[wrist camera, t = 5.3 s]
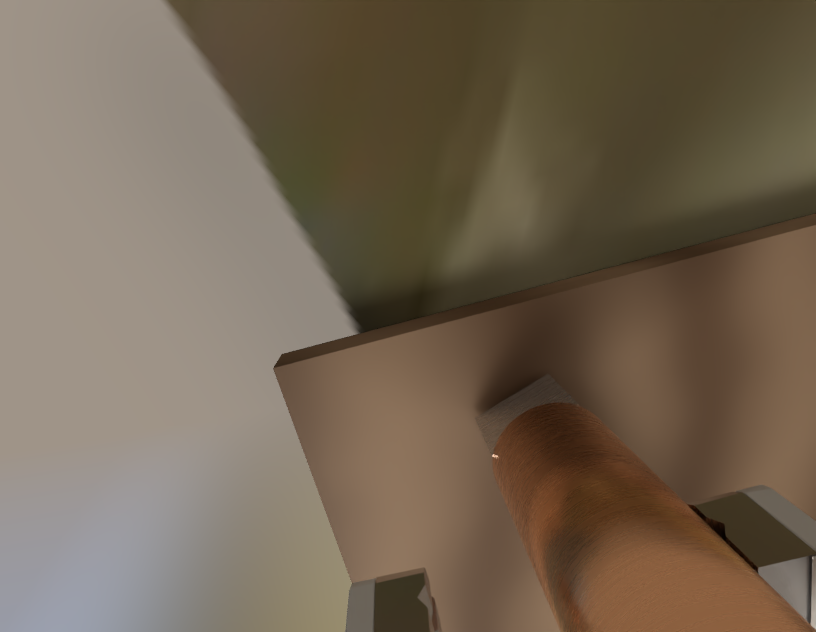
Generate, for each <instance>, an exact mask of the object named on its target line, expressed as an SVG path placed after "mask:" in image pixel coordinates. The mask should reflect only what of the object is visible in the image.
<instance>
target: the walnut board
mask: <svg viewBox="0 0 816 632" xmlns="http://www.w3.org/2000/svg"><path fill="white" fill-rule="evenodd" d="M273 369H274V372H275V374H276V377H277V380H278V383H279V385H280V388H281V391H282V394H283V397H284V399H285V402H286V405H287V407H288V410H289V413H290V416H291V418H292V421H293V424H294V426H295V429H296V432H297V434H298V437H299V440H300V443H301V446H302V448H303V451H304V453H305V456H306V459H307V462H308V465H309V467H310V470H311V473H312V476H313V478H314V481H315V483H316V486H317V489H318V492H319V495H320V497H321V500H322V503H323V505H324V508H325V511H326V514H327V516H328V519H329V522H330V525H331V527H332V530H333V533H334V535H335V538H336V541H337V544H338V546H339V549H340V552H341V555H342V557H343V560H344V563H345V565H346V568H347V571H348V574H349V576H350V579H351V582H352V583H354V582H359V581H364V580H368V579H373V578H377V577H380V576H385V575H389V574H394V573H399V572H404V571H408V570H413V569H418V568H422V567H424V568H425V569H426V572H427V575H428V578H429V581H430V589H431V596H432V597H433V598H434V599H435V602H436V606H437V610H438V614H439V618H440V623H441V628H442V632H561V631H560V629H559V627H558V624H557V622H556V620H555V617H554V615H553V613H552V610H551V608H550V606H549V603H548V601H547V599H546V596H545V594H544V592H543V589H542V587H541V585H540V582H539V580H538V578H537V575H536V573H535V571H534V568H533V566H532V564H531V561H530V559H529V557H528V554H527V552H526V550H525V547H524V545H523V543H522V540H521V538H520V536H519V533H518V531H517V529H516V526H515V524H514V522H513V519H512V517H511V515H510V512H509V510H508V508H507V505H506V503H505V501H504V498H503V496H502V494H501V491H500V489H499V487H498V484H497V482H496V479H495V477H494V473H493V466H492V460H493V457H492V455H491V453H490V451H489V449H488V447H487V444H486V442H485V440H484V438H483V436H482V433H481V431H480V429H479V427H478V425H477V422H476V420H475V417H477V416H478V415H480V414H482V413H483V412H485V411H487V410H488V409H490V408H492V407H493V406H495V405H497V404H498V403H500V402H502V401H503V400H505V399H507V398H508V397H510V396H512V395H513V394H515V393H517V392H518V391H520V390H522V389H523V388H525V387H527V386H528V385H530V384H532V383H533V382H535V381H537V380H538V379H540V378H542V377H543V376H545V375H547V374H549V375H550V376H551V377H552V378H553V379H554V380H555V381H556V382H557V383H558V384H559V385H560V386H561V387H562V388H563V389H564V390H565V391H566V392H567V393H568V394H569V395H570V396H571V397H572V398H573V399H574V400H575V401H576V402H577V403H578V404H579V406H581V407H583V408H585V409H587V410H589V411H591V412H592V413H593V414H594V415H596V416H597V417H598V418H599V419H600V420H601V421H602V422H603V423H604V424H605V425H606V426H607V427H608V428H609V429H610V430H611V431H612V432H613V433H614V434H615V435H616V436H617V437H618V438H619V439H620V440H621V441H623V442H624V443H625V444H626V445H627V446H628V447H629V448H630V449H631V450H632V451H633V452H634V453H635V454H636V455H637V456H638V457H639V458H640V459H641V460H642V461H643V462H644V463H645V464H646V465H647V466H648V467H649V468H650V469H651V470H652V471H653V472H654V473H655V474H656V475H657V476H658V477H659V478H661V479H662V480H663V481H664V482H665V483H666V484H667V485H668V486H669V487H670V488H671V489H672V490H673V491H674V492H675V493H676V494H677V495H678V496H679V497H680V498H681V499H682V500H683V501H684V502H685V503H690V502H694V501H698V500H702V499H706V498H710V497H713V496H717V495H721V494H725V493H729V492H735V491H737V490H741V489H745V488H749V487H753V486H757V485H761V484H762V485H765V486H768V487H770V488H772V489H773V490H774V491H776V492H777V493H778V494H780V495H781V496H782V497H784V498H785V499H787V500H788V501H789V502H791V503H792V504H793V505H795V506H796V507H797V508H799V509H800V510H801V511H803V512H804V513H806V514H807V515H808V516H810V517H811V518H812V519H814V520H815V521H816V213H815V214H811V215H807V216H804V217H800V218H796V219H792V220H788V221H785V222H781V223H777V224H773V225H769V226H766V227H762V228H758V229H754V230H751V231H747V232H743V233H739V234H735V235H732V236H728V237H724V238H720V239H716V240H713V241H709V242H705V243H701V244H698V245H694V246H690V247H686V248H682V249H679V250H675V251H671V252H667V253H663V254H660V255H656V256H652V257H648V258H644V259H641V260H637V261H633V262H629V263H626V264H622V265H618V266H614V267H610V268H607V269H603V270H599V271H595V272H591V273H588V274H584V275H580V276H576V277H573V278H569V279H565V280H561V281H557V282H554V283H550V284H546V285H542V286H538V287H535V288H531V289H527V290H523V291H519V292H516V293H512V294H508V295H504V296H501V297H497V298H493V299H489V300H485V301H482V302H478V303H474V304H470V305H466V306H463V307H459V308H455V309H451V310H447V311H444V312H440V313H436V314H432V315H429V316H425V317H421V318H417V319H413V320H410V321H406V322H402V323H398V324H394V325H391V326H387V327H383V328H379V329H376V330H372V331H368V332H364V333H360V334H357V335H353V336H349V337H345V338H342V339H338V340H334V341H330V342H326V343H322V344H319V345H315V346H312V347H307V348H304V349H300V350H296V351H292V352H289V353H285V354H282V355H281V357H280V358H279V360H278V361H277V363H276V365H275V366H274V368H273Z"/></svg>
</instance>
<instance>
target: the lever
mask: <svg viewBox="0 0 816 632" xmlns="http://www.w3.org/2000/svg"><path fill="white" fill-rule="evenodd" d="M475 420H476V422H477V425H478V427H479V429H480V431H481V433H482V436H483V438H484V440H485V442H486V444H487V447H488V449H489V451H490V453H491V455H492V457H493V460H492V466H493V473H494V477H495V479H496V482H497V484H498V487H499V489H500V491H501V494H502V496H503V498H504V501H505V503H506V505H507V508H508V510H509V512H510V515H511V517H512V519H513V522H514V524H515V526H516V529H517V531H518V533H519V536H520V538H521V540H522V543H523V545H524V547H525V550H526V552H527V554H528V557H529V559H530V561H531V564H532V566H533V568H534V571H535V573H536V575H537V578H538V580H539V582H540V585H541V587H542V589H543V592H544V594H545V596H546V599H547V601H548V603H549V606H550V608H551V610H552V613H553V615H554V617H555V620H556V622H557V624H558V627H559V629H560V631H561V632H816V629H815V628H814V627H812V626H811V625H810V624H809V623H808V622H807V621H806V620H805V619H804V618H803V617H802V616H801V615H800V614H799V613H798V612H797V611H796V610H795V609H794V608H793V607H792V606H791V605H790V604H789V603H788V602H787V601H786V600H785V599H784V598H783V597H782V596H781V595H780V594H779V593H778V592H777V591H776V590H774V589H773V588H772V587H771V586H770V585H769V584H768V583H767V582H766V581H765V580H764V579H763V578H762V577H761V576H760V575H759V574H758V573H757V572H756V571H755V570H754V569H753V568H752V567H751V566H750V565H749V564H748V563H747V562H746V561H745V560H744V559H743V558H742V557H741V556H740V555H739V554H738V553H736V552H735V551H734V550H733V549H732V548H731V547H730V546H729V545H728V544H727V543H726V542H725V541H724V540H723V539H722V538H721V537H720V536H719V535H718V534H717V533H716V532H715V531H714V530H713V529H712V528H711V527H710V526H709V525H708V524H707V523H706V522H705V521H704V520H703V519H702V518H701V517H700V516H699V515H697V514H696V513H695V512H694V511H693V510H692V509H691V508H690V507H689V506H688V505H687V504H686V503H685V502H684V501H683V500H682V499H681V498H680V497H679V496H678V495H677V494H676V493H675V492H674V491H673V490H672V489H671V488H670V487H669V486H668V485H667V484H666V483H665V482H664V481H663V480H662V479H661V478H659V477H658V476H657V475H656V474H655V473H654V472H653V471H652V470H651V469H650V468H649V467H648V466H647V465H646V464H645V463H644V462H643V461H642V460H641V459H640V458H639V457H638V456H637V455H636V454H635V453H634V452H633V451H632V450H631V449H630V448H629V447H628V446H627V445H626V444H625V443H624V442H623V441H621V440H620V439H619V438H618V437H617V436H616V435H615V434H614V433H613V432H612V431H611V430H610V429H609V428H608V427H607V426H606V425H605V424H604V423H603V422H602V421H601V420H600V419H599V418H598V417H597V416H596V415H594V414H593V413H592V412H591V411H589V410H587V409H585V408H583V407H581V406H579V404H578V403H577V402H576V401H575V400H574V399H573V398H572V397H571V396H570V395H569V394H568V393H567V392H566V391H565V390H564V389H563V388H562V387H561V386H560V385H559V384H558V383H557V382H556V381H555V380H554V379H553V378H552V377H551V376H550V375H549V374H547V375H545V376H543V377H542V378H540V379H538V380H537V381H535V382H533V383H532V384H530V385H528V386H527V387H525V388H523V389H522V390H520V391H518V392H517V393H515V394H513V395H512V396H510V397H508V398H507V399H505V400H503V401H502V402H500V403H498V404H497V405H495V406H493V407H492V408H490V409H488V410H487V411H485V412H483V413H482V414H480V415H478V416H477V417H475Z"/></svg>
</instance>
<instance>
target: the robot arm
mask: <svg viewBox="0 0 816 632" xmlns="http://www.w3.org/2000/svg"><path fill="white" fill-rule="evenodd" d="M686 504H687V505H688V506H689V507H690V508H691V509H692V510H693V511H694V512H695V513H696V514H697V515H699V516H700V517H701V518H702V519H703V520H704V521H705V522H706V523H707V524H708V525H709V526H710V527H711V528H712V529H713V530H714V531H715V532H716V533H717V534H718V535H719V536H720V537H721V538H722V539H723V540H724V541H725V542H726V543H727V544H728V545H729V546H730V547H731V548H732V549H733V550H734V551H735V552H736V553H738V554H739V555H740V556H741V557H742V558H743V559H744V560H745V561H746V562H747V563H748V564H749V565H750V566H751V567H752V568H753V569H754V570H755V571H756V572H757V573H758V574H759V575H760V576H761V577H762V578H763V579H764V580H765V581H766V582H767V583H768V584H769V585H770V586H771V587H772V588H773V589H774V590H776V591H777V592H778V593H779V594H780V595H781V596H782V597H783V598H784V599H785V600H786V601H787V602H788V603H789V604H790V605H791V606H792V607H793V608H794V609H795V610H796V611H797V612H798V613H799V614H800V615H801V616H802V617H803V618H804V619H805V620H806V621H807V622H808V623H809V624H810V625H811V626H812V627H814V628H815V629H816V521H815V520H814V519H812V518H811V517H810V516H808V515H807V514H806V513H804V512H803V511H801V510H800V509H799V508H797V507H796V506H795V505H793V504H792V503H791V502H789V501H788V500H787V499H785V498H784V497H782V496H781V495H780V494H778V493H777V492H776V491H774V490H773V489H772V488H770V487H768V486H765V485H762V484H761V485H757V486H753V487H749V488H745V489H741V490H737V491H735V492H729V493H725V494H721V495H717V496H713V497H710V498H706V499H702V500H698V501H694V502H690V503H686ZM345 632H442V628H441V623H440V618H439V614H438V610H437V606H436V602H435V599H434V598H433V597H432V596H431V589H430V581H429V578H428V575H427V572H426V569H425V568H424V567H422V568H418V569H413V570H408V571H404V572H399V573H394V574H389V575H385V576H380V577H377V578H373V579H368V580H364V581H359V582H354V583H352V585H351V588H350V590H349V599H348V609H347V620H346V631H345Z"/></svg>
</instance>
